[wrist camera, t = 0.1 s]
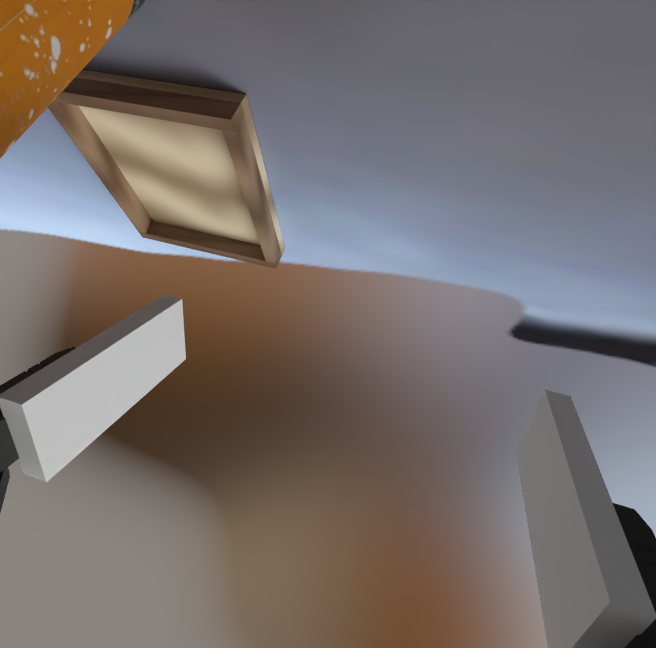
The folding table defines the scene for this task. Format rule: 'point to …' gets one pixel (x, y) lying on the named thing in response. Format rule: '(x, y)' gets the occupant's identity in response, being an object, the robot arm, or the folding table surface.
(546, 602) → the robot arm
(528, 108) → the folding table surface
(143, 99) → the wooden tray
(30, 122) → the canister
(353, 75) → the folding table surface
